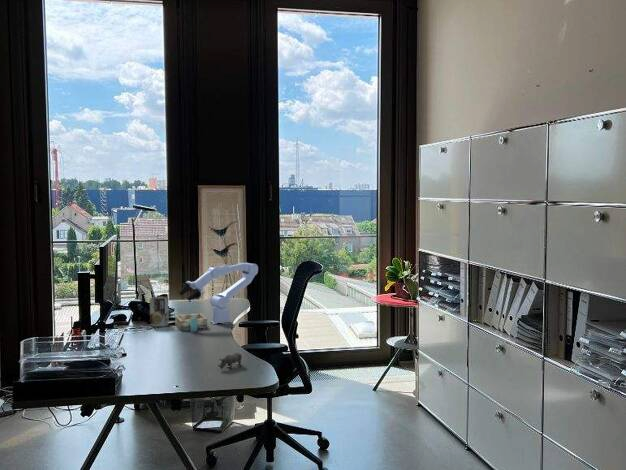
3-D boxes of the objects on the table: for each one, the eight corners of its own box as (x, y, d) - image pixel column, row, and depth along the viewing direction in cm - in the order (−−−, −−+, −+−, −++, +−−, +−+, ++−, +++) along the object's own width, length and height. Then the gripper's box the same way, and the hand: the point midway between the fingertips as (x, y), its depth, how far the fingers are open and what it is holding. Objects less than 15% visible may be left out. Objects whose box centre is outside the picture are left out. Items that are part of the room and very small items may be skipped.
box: (201, 322, 342) (201, 313, 342) (207, 328, 329) (207, 318, 328) (175, 324, 336) (175, 315, 336) (180, 330, 323) (180, 320, 322)
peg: (196, 330, 323) (196, 317, 323) (197, 331, 320) (197, 319, 320) (189, 330, 322) (189, 318, 321) (191, 332, 319) (191, 319, 318)
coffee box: (169, 324, 338) (168, 296, 337) (165, 326, 331) (165, 298, 330) (153, 323, 339) (153, 296, 338) (149, 326, 332) (149, 298, 331)
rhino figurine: (214, 370, 250) (214, 356, 250) (238, 363, 261) (238, 350, 261) (220, 372, 248) (220, 358, 247) (244, 365, 258) (244, 352, 258)
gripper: (192, 272, 336) (174, 286, 329) (208, 281, 327) (190, 297, 321) (195, 280, 340) (177, 295, 333) (211, 290, 332) (193, 305, 325)
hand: (184, 296), depth 327 cm, fingers open, 7 cm apart
